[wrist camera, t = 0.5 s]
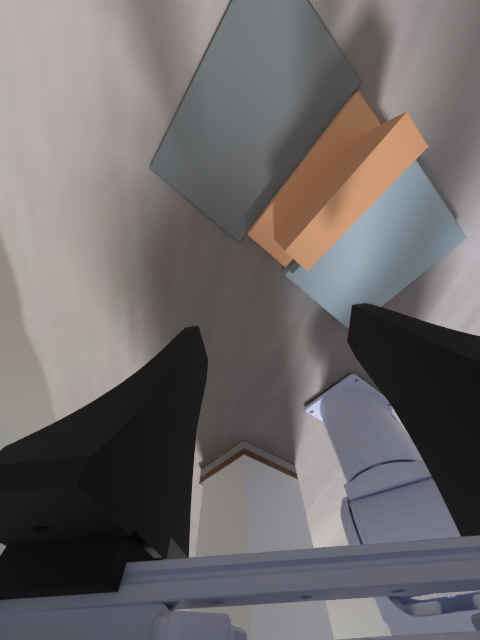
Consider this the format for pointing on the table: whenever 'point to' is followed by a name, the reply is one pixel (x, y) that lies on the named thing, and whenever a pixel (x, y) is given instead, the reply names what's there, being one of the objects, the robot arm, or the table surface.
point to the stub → (336, 183)
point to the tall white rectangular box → (258, 535)
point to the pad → (254, 110)
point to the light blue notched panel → (382, 248)
